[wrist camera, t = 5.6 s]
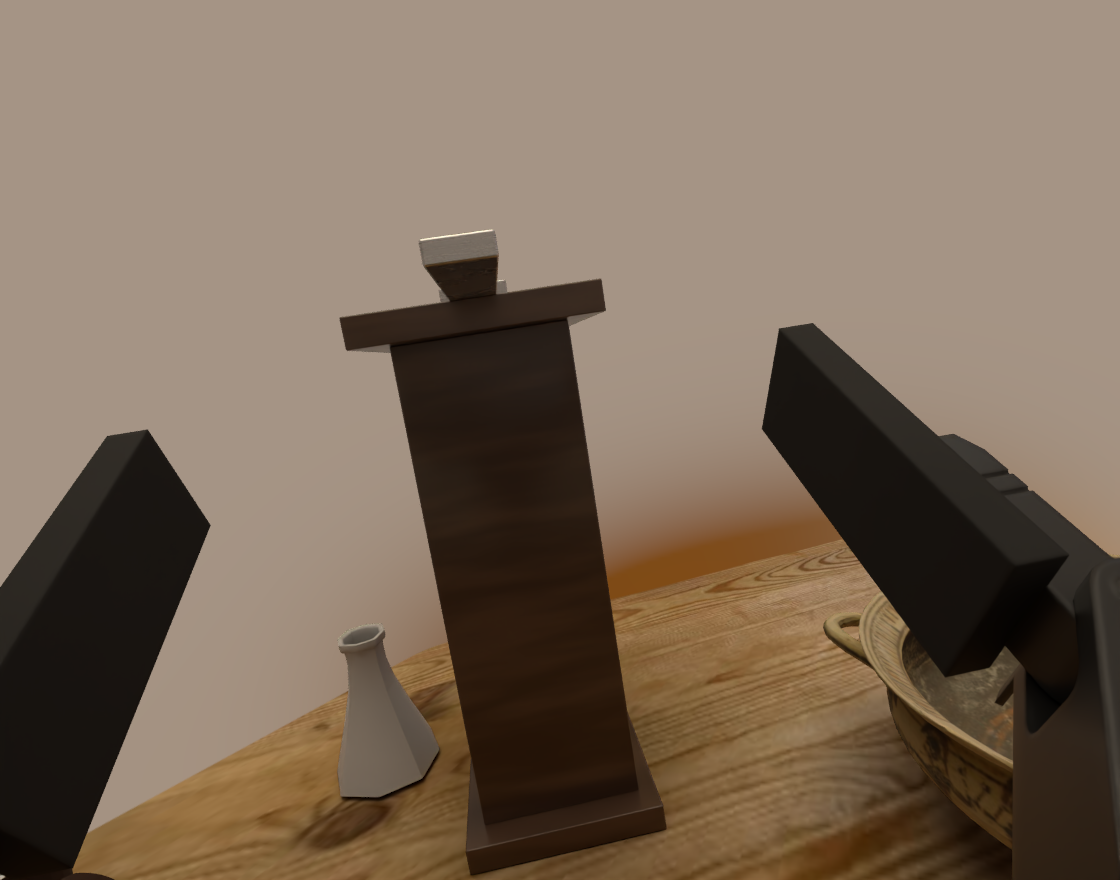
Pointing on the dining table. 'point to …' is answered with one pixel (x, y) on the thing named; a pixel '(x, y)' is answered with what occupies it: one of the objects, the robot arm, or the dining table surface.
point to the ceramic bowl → (942, 713)
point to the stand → (519, 567)
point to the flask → (379, 722)
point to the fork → (463, 264)
